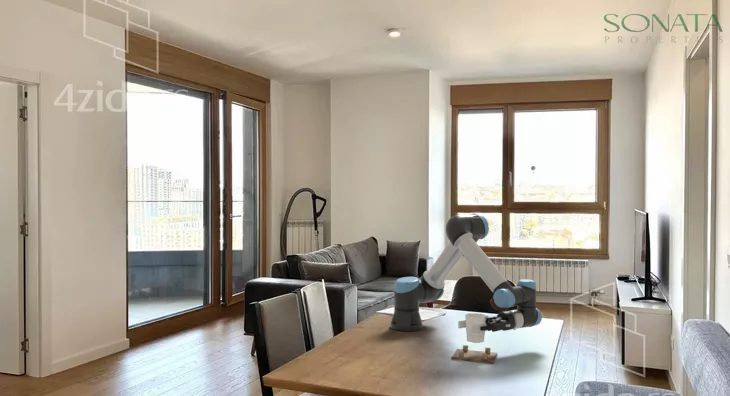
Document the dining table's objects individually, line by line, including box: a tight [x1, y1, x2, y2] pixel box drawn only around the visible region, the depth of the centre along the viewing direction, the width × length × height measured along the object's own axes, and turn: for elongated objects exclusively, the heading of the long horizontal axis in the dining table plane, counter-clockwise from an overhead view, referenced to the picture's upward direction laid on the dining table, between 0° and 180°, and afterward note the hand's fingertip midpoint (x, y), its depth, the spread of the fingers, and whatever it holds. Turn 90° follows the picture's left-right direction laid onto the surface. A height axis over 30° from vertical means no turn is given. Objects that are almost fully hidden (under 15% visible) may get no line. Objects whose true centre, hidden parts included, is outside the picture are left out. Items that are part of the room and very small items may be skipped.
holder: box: [451, 344, 498, 365], centre depth 226 cm, size 16×12×3 cm
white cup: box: [464, 312, 487, 344], centre depth 226 cm, size 8×8×10 cm
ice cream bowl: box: [489, 294, 511, 314], centre depth 292 cm, size 11×11×15 cm
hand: (465, 326), depth 223 cm, fingers closed on white cup, 7 cm apart
